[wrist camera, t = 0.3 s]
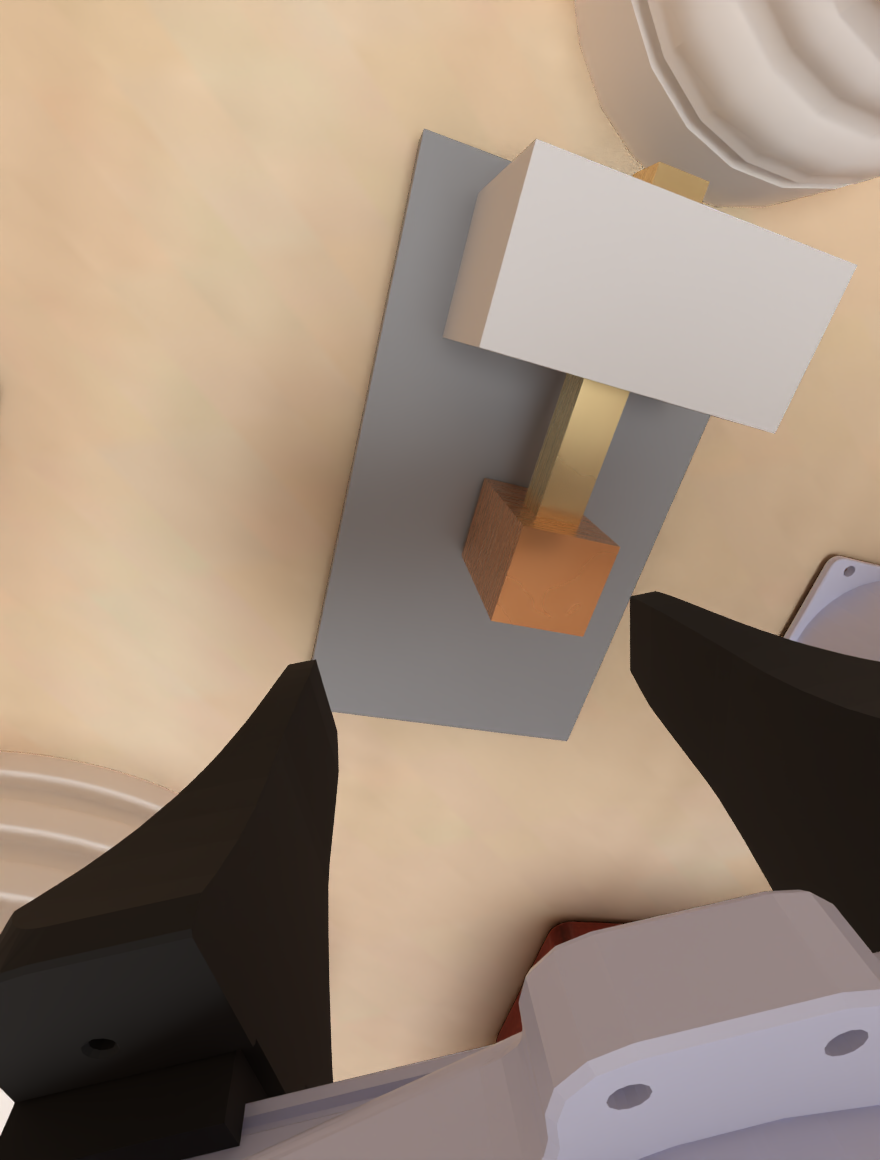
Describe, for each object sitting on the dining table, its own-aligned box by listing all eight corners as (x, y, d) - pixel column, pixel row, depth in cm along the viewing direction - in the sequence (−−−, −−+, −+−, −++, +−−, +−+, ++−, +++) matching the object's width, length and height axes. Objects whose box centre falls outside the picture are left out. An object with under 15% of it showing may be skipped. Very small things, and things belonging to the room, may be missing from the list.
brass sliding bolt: (663, 216, 17) (772, 182, 13) (535, 570, 22) (583, 636, 17) (574, 182, 17) (656, 133, 12) (461, 555, 21) (491, 620, 17)
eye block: (754, 265, 20) (943, 243, 13) (558, 724, 27) (620, 847, 21) (419, 140, 17) (459, 38, 11) (305, 690, 24) (289, 821, 18)
